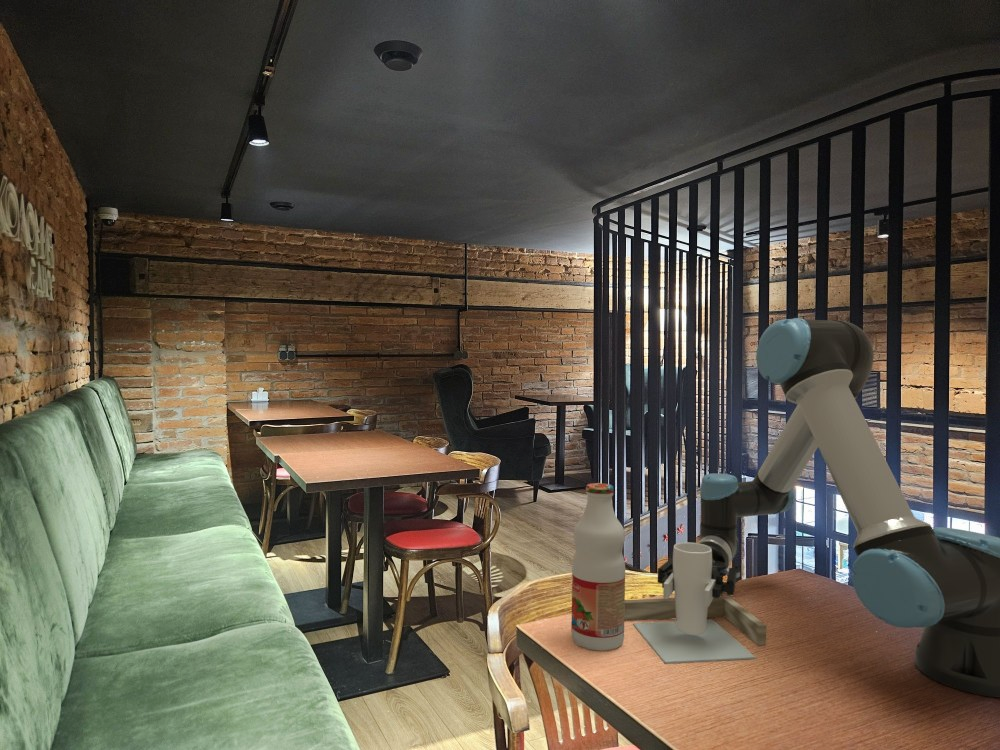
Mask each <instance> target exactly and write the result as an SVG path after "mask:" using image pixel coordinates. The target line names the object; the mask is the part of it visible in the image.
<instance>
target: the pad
mask: <svg viewBox="0 0 1000 750" xmlns="http://www.w3.org/2000/svg"><path fill="white" fill-rule="evenodd" d="M632 625H633V626H634V627H635V629H636V630H637V631H638V633H639V634H640V635H641V636H642V638H643V639H644V640H645V641H646V642H647V644H649V646H650V647H651V649H653V651H654V652H655V653H656V654H657V656H658V657H659V658H660V659H661V661H662V662H663V663H664V664H665V665H667V664H668V665H670V664H685V663H703V662H705V663H706V662H708V663H709V662H725V661H726V662H727V661H742V660H743V661H747V660H756V656H755V655H754V654H752V652H750V651H749V650H748V649H747V648H746V647H745V646H744V645H742V644H741V643H740V642H739V641H738V640H737V639H736V638H734V637H733V636H732V635H731V634H730V633H728V632H727V630H725V629H724V628H723V627H722V626H721V625H720V624H718V623H717V622H716V621H715V620H714V619H707V629H706V631H705V632H704V633H703V634H700V635H690V634H685V633H683V632H681V631H679V630H678V629H677V627H676V620H674V621H656V622H653V621H651V622H633V623H632Z"/></svg>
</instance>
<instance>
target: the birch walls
mask: <svg viewBox="0 0 1000 750" xmlns="http://www.w3.org/2000/svg"><path fill="white" fill-rule="evenodd" d="M721 617H722V618H725V619H726V620H728V621H729V622H730V623H731V624H732V625H733V626H734V627H736V628H737V629H738V630H739V631H740V632H742V633H743V634H744V635H745V636H747V638H748V639H750V640H751V641H753V642H754V643H755V644H756V645H757V646H766V645H767V629H768V628H767V626H768V625H766V624H765V623H764V622H763V621H761V620H760V619H759V618H757V616H755V615H754V614H752V613H751V612H750V611H748V609H745V608H744V606H742V605H740V604H739V603H738V602H737V601H735V600H734V599H732V598H731V597H730V595H720V597H719V598H716V597H714V598H713V600H712V602H711V604H710V605H709V607H708V613H707V618H721ZM670 618H676V609H675V597H669V598H668V599H663V597H661V598H642V599H641V598H640V599H639V598H638V599H625V614H624V622H627V621H629V620H630V621H648V620H649V621H653V620H671V619H670ZM626 620H627V621H626ZM630 621H629V622H630Z"/></svg>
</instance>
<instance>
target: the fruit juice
mask: <svg viewBox="0 0 1000 750" xmlns="http://www.w3.org/2000/svg"><path fill="white" fill-rule="evenodd" d="M614 488H615V487H614V486H613V485H612V484H609V483H601V482H595V483H588V484H587V485H586V486H585V491H586V493H585V495H586V496H587V502H586V505H585V509H584V512H583V514H582V516H581V517H580V519H579V520H578V521H577V523H576V524H575V526H574V529H573V541H574V545H575V553H574V554H573V559H572V564H571V565H572V568H571V578H572V579H571V624H570V626H571V629H570V630H571V638H572V640H573V642H574V643H575V644H576V645H577V646H579V647H581V646H582V648H584V649H588V650H591V651H604V652H605V651H611V650H615V649H618V648H619V647H621V646H622V645H623V643H624V639H625V621H624V614H625V600H626V562H625V558H624V556H623V548H624V544H625V542H626V541H625V540H626V534H625V533H626V532H625V529H624V527H623V525H622V523H621V522H620V520H619V519H618V518H617V516H616V513H615V510H614V506H613V501H612V499H613V496H614V492H615V490H614Z"/></svg>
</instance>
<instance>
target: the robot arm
mask: <svg viewBox="0 0 1000 750" xmlns="http://www.w3.org/2000/svg"><path fill="white" fill-rule="evenodd" d="M758 340H759V341H758V346H757V348H756V355H755V356H756V357H755V359H756V366H757V368H758V372H759V374H760V375H761V376H762V377H763V379H765V380H766V381H769V382H770V383H772V384H775V385H776V384H777V385H780V388H781V390H782V392H783V394H784V397H785V399H786V400H787V401H788V402H789V403H793V404H795V405H796V407H795V408H794V410H793V412H792V413H791V415H790V416H789V419H788V420H787V422H786V423H785V425H784V427H783V429H782V430H781V432H780V433H779V435H778V438H777V439H776V441H775V443H774V444H773V446H772V448H771V450H770V451H769V453H768V454H767V456H766V458H765V460H764V461H763V463H762V464H761V466H760V468H759V470H758V472H756V475H755V476H754V477H753V479H752V480H751V481H738V477H736V476H735V475H733V474H727V473H713V472H712V473H708V474H704V475H703V476H702V479H701V484H700V492H699V496H700V522H699V524H700V525H699V540H698V542H697V543H699V544H703V545H706V546H709V547H710V548H711V549H712V576H711V582H710V583H709V584H708V585H707V587H706V589H705V590H704V606H707V607H709V605H710V604H711V602H712V600H713V598H714V597H716V598H719V597H720V596H722V595H723V593H726V595H727V596H734V595H735V594H734V593H735V589H736V585H737V583H738V582H740V581H741V567H740V566H738V565H735V566H730V565H731V562H732V561H733V559H735V557H736V555H737V553H738V551H739V539H738V536H737V528H738V527H737V526H738V518H744V517H746V518H747V517H752V516H753V517H754V516H756V517H757V516H765V515H766V516H767V515H771V516H772V515H779V514H780V513H785V512H787V511H789V510H790V509H791V508H792V507H793V505H794V498H795V492H794V490H793V487H794V485H795V484H796V482H797V481H798V479H799V478H800V476H801V474H802V473H803V471H804V469H805V468H806V466H807V465H808V464H809V462H810V461H811V459H812V457H813V455H814V454H815V452H816V451H817V449H818V450H819V451H820V453H821V456H822V458H823V461H824V463H825V464H826V467H827V469H828V472H829V474H830V475H831V478H832V481H833V482H834V485H835V486H836V489H837V490H838V494H839V495H840V498H841V499H842V502H843V503H844V506H845V509H846V510H847V512H848V515H849V517H850V520H851V521H852V524H853V525H854V528H855V530H856V532H857V535H856V538H855V540H854V542H853V545H852V547H853V550H854V552H855V554H856V557H857V558H856V559H855V560H854V562H853V564H852V570H853V572H851V581H852V586H853V589H854V592H855V594H856V595H857V597H858V599H859V600H860V602H861V604H862V605H863V606H864V607H865V608H866V610H867V611H868V612H870V614H872V616H875V618H877V619H879V620H881V621H883V622H884V623H886V624H887V625H890V626H893V627H896V628H905V629H911V628H924V629H923V632H922V635H921V638H920V642H917V644H916V646H915V649H914V665H915V667H916V668H917V669H918V670H919V671H920V672H921V673H923V674H924V675H925V676H927V677H928V678H930V679H932V680H934V681H936V682H939V683H940V684H942V685H945V686H948V687H951V688H953V689H956V690H959V691H962V692H967V693H971V694H974V695H980V696H984V697H990V698H991V697H992V698H1000V537H997V536H995V535H990V534H985V533H980V532H976V531H970V530H964V529H959V528H952V527H951V528H950V527H940V526H939V527H938V526H937V527H934V528H932V525H931V524H930V523H928V522H925V521H923V520H921V519H918V518H917V517H915V515H914V514H913V511H912V510H911V507H910V506H909V503H908V501H907V500H906V497H905V495H904V493H903V492H902V490H901V487H900V485H899V484H898V482H897V479H896V477H895V475H894V474H893V472H892V470H891V468H890V466H889V464H888V462H887V460H886V458H885V456H884V454H883V452H882V449H881V448H880V446H879V444H878V442H877V440H876V437H875V436H874V433H872V431H871V428H870V426H869V425H868V422H867V420H866V418H865V416H864V414H863V413H862V410H861V408H860V406H859V404H858V403H857V400H856V398H857V397H858V396H859V395H860V393H861V392H862V390H863V389H864V387H865V385H866V383H867V381H868V379H869V377H870V375H871V372H872V369H873V364H874V358H875V355H874V347H873V345H872V341H871V339H870V337H869V336H868V335H867V333H866V332H864V330H863V329H862V328H860V327H859V326H858V325H855V324H854V323H852V322H849V321H845V320H837V319H834V320H828V319H827V320H826V319H825V320H824V319H822V320H821V319H803V318H801V317H793V318H788V319H787V318H785V319H780V320H776V321H775V322H773V323H772V324H770V325H769V326H768V327H767V328H766V329H765V330H764V332H763V333H762V335H761V336H760V338H759V339H758ZM857 399H858V398H857ZM725 576H727V578H726V581H724V577H725ZM657 583H659V584H661V587H662V589H663V592H662V593H663V594H662V595H663V596H662V598H663V599H668V598H671V596H672V594H674V579H673V555H671V556H669V557H668V560H667V561H665V563H663V564H662V565H661V566H660V567H658V568H657Z"/></svg>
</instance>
